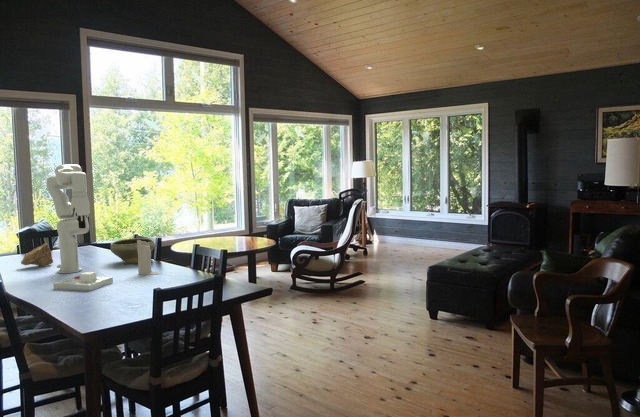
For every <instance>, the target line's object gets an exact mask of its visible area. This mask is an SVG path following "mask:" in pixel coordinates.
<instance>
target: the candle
mask: <svg viewBox="0 0 640 417" xmlns="http://www.w3.org/2000/svg"><path fill="white" fill-rule="evenodd" d="M137 251H138V262H137V267H138V268H137V269H138V275H141V276H143V275H144V276H145V275H146V276H150V275H151V276H153V275H161V274H162V272H159V271H152V262H151V261H152V260H151V258H152V251H151V250H150V245H149V243H146V241H141V240H137Z"/></svg>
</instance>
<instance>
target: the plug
mask: <svg viewBox="0 0 640 417" xmlns="http://www.w3.org/2000/svg"><path fill="white" fill-rule="evenodd" d="M79 275H80V282H93V281H96V280H97V279H96V277H97V272H96V271H86V272H81V273H79Z"/></svg>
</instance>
